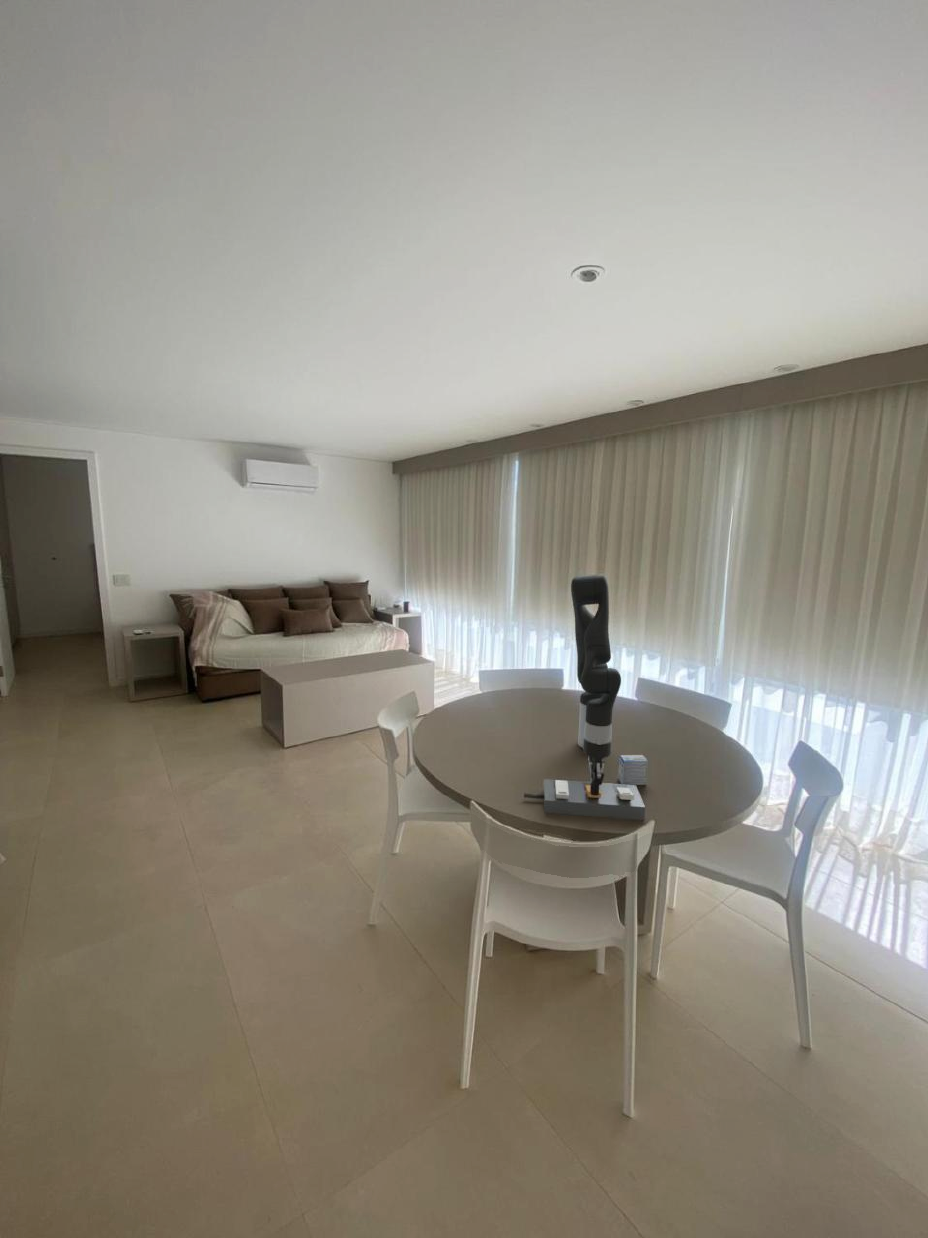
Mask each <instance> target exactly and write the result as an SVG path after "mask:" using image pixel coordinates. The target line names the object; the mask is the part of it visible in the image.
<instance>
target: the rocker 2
mask: <svg viewBox="0 0 928 1238" xmlns="http://www.w3.org/2000/svg"><path fill="white" fill-rule="evenodd" d="M586 793H587V795H588V797H595V798H601V792H600V789H599V795H591V792H590V785H586Z"/></svg>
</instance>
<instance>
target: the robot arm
mask: <svg viewBox="0 0 928 1238" xmlns="http://www.w3.org/2000/svg"><path fill="white" fill-rule="evenodd" d="M570 589H571V590H570V591H571V599H572V600H571V601H572V606H573V612H574V613H573V614H574V633H575V635H574V636H575V644H576V655H577V659H576V660H577V663H576V665H577V666H576V671H577V672H576V676H577V680H578V683H579V684H580V686H581V688H582V690H583V691H584V692H583V693H581V694H580V695H579V697H580V698H579V715H578V717H579V718H578V719H579V720H578V736H577V737H578V738H577V740H578V741H577V746H579V747H580V748H581V749H582V751H583V753H584V754H585V755H587V756H588V758H587V760H588V771H589V772H588V774H589V779H590V782H591V785H590V792H591V795H599V785H601V784H602V783H603V780H604V778H605V777H604V776H605V773H604V768H605V761H604V758H608V757H610V755H611V753H612V752H611V751H612V739H613V738H612V737H613V727H612V721H613V709H614V704H615V702H616V699H617V696H618V694H619V691H620V688H621V685H622V677H621V674H620V672H619V671H618V669H616V668H613V667H608V663H609V662H610V661H611V658H612V655H611V654H612V652H611V645H610V635H609V623H610V621H609V620H610V596H609V594H610V591H609V583H608V579H607V577H606V575H605V574H601V573H599V574H585V575H577V576H575V577H573V578H572V580H571V585H570ZM589 605H590V606H591V605H598V607H597V611H596V613H595V615H594V614H593V613H591V612H590V611H589V610H588V608H587V607H586V606H589Z"/></svg>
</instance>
